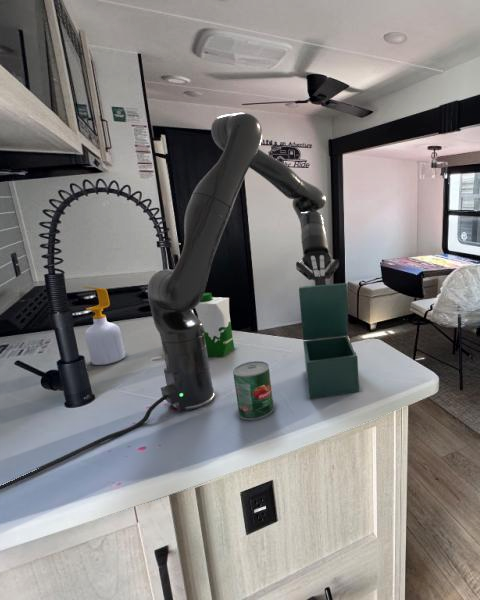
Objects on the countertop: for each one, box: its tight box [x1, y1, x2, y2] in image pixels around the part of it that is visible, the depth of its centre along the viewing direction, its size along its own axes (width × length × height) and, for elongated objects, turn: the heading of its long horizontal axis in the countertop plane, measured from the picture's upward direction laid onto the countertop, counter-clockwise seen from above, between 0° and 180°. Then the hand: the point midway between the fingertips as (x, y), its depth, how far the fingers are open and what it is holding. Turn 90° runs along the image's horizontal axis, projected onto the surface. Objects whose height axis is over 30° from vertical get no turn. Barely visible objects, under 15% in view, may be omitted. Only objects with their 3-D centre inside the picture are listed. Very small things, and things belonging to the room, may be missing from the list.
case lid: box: [298, 282, 349, 341], centre depth 105 cm, size 16×13×1 cm
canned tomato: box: [232, 360, 275, 421], centre depth 89 cm, size 8×8×11 cm
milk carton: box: [194, 292, 235, 358], centre depth 125 cm, size 9×9×20 cm
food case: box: [302, 335, 360, 399], centre depth 103 cm, size 16×13×10 cm
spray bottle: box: [82, 286, 126, 366], centre depth 121 cm, size 9×9×25 cm
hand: (321, 289), depth 107 cm, fingers closed
